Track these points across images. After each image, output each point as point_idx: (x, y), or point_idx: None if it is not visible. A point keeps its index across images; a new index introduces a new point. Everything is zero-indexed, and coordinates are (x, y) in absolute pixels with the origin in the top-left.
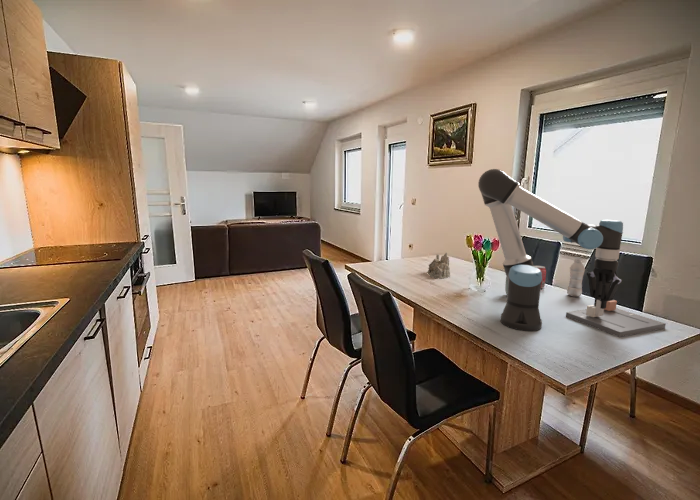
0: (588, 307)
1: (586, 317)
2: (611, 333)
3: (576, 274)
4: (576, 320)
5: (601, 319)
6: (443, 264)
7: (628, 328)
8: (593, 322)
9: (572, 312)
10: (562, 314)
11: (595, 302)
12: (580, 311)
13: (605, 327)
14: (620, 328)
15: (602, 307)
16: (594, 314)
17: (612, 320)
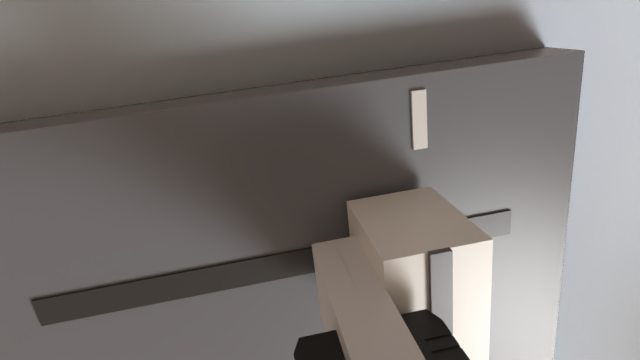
0: (460, 235)
1: (382, 146)
2: (12, 123)
3: None
4: (426, 64)
5: (287, 256)
6: None
7: (7, 333)
8: (236, 101)
9: (549, 116)
10: (599, 64)
11: (449, 356)
12: (536, 230)
13: (76, 121)
14: (8, 252)
15: (310, 350)
16: (356, 234)
17: (248, 345)
